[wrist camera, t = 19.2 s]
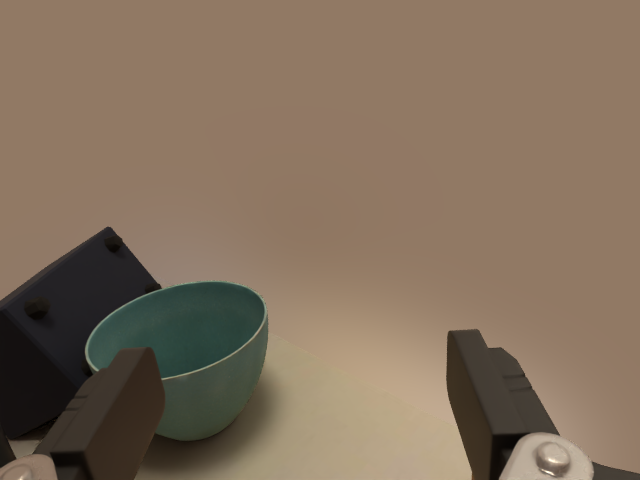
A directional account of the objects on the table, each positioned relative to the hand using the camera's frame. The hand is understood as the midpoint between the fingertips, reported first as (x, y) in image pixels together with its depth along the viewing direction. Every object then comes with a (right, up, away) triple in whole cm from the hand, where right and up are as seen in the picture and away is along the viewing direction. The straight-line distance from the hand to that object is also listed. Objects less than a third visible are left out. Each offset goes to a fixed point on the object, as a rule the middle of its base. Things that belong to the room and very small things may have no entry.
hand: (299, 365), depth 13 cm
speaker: (-24, -3, +44) cm, 50 cm away
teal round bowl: (-13, -16, +41) cm, 46 cm away
